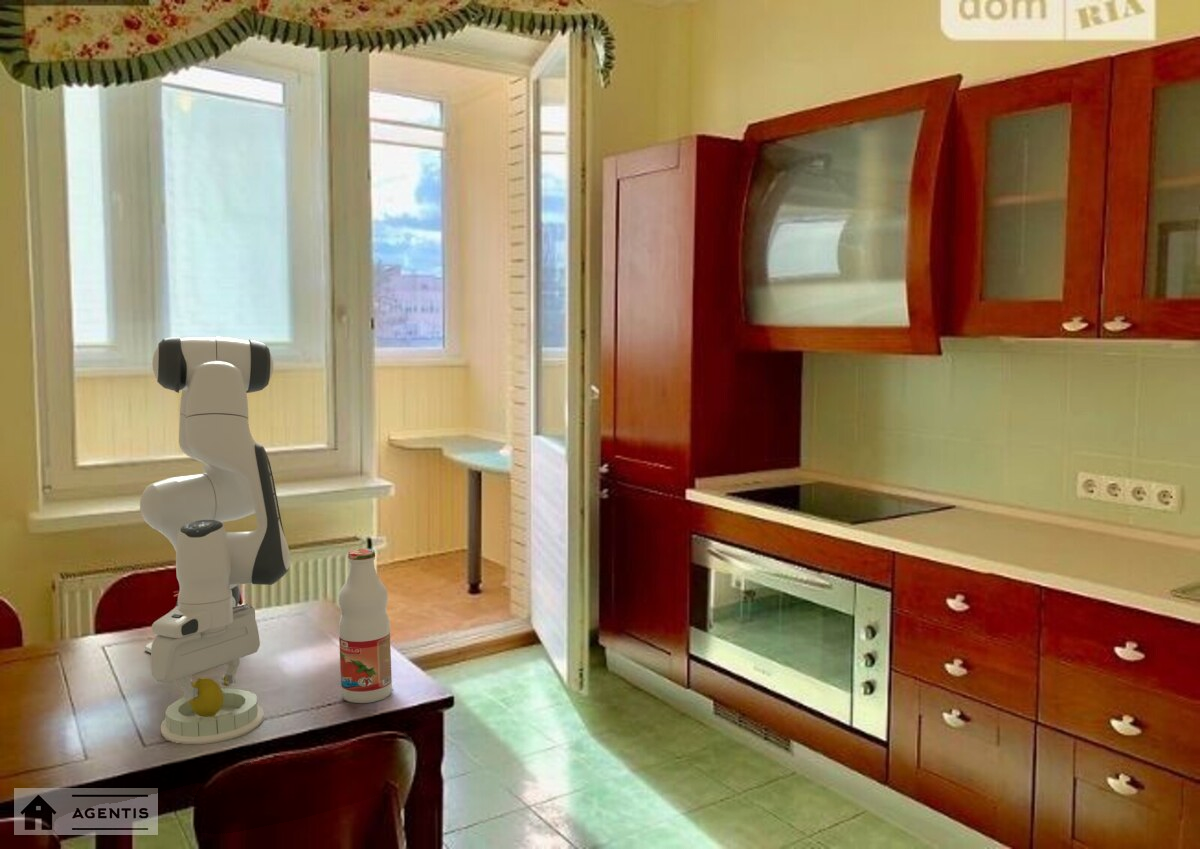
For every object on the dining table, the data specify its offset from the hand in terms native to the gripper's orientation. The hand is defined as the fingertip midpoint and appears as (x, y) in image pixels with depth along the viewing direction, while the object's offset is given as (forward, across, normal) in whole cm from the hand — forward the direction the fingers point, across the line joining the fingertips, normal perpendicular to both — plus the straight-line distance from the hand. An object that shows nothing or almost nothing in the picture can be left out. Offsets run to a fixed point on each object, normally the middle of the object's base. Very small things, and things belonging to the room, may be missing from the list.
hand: (210, 691), depth 171 cm
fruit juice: (+6, -24, +14) cm, 29 cm away
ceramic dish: (+6, -1, -1) cm, 6 cm away
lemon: (+5, -1, -1) cm, 5 cm away
